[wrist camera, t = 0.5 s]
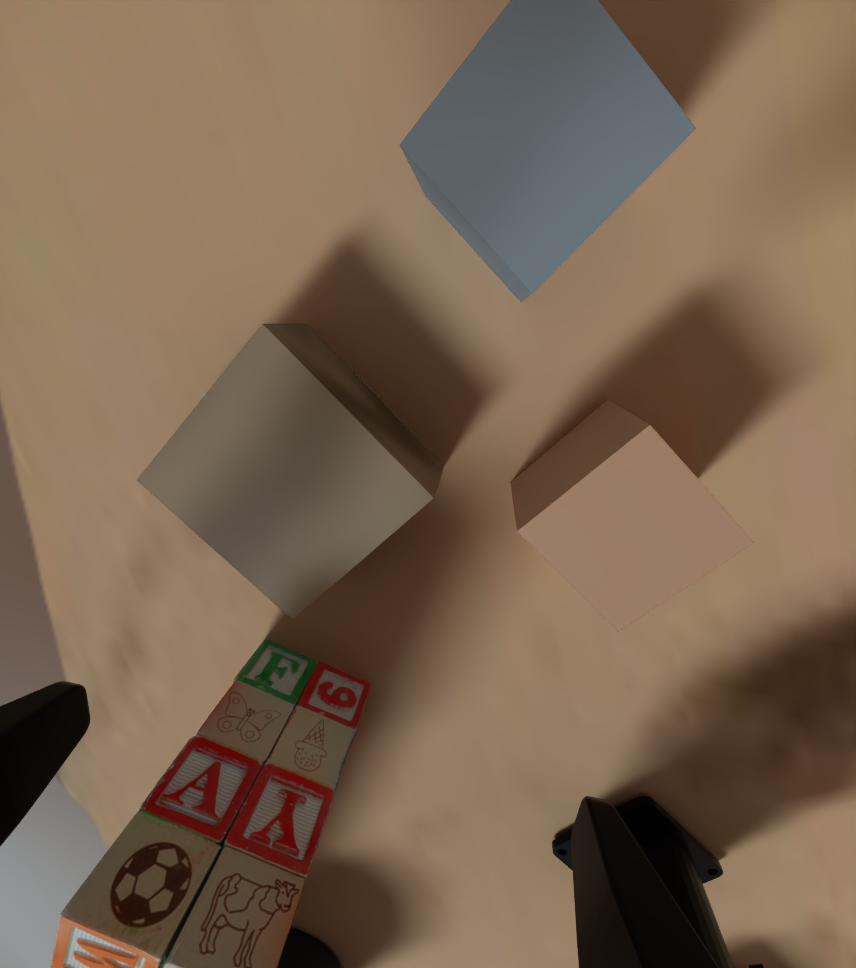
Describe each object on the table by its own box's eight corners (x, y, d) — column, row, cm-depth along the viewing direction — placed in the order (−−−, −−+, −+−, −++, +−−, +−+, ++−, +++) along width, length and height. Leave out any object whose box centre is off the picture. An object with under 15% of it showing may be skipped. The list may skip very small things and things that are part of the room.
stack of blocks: (270, 899, 31) (142, 1234, 20) (186, 864, 31) (9, 1180, 20) (374, 680, 24) (264, 1014, 12) (263, 633, 24) (49, 925, 12)
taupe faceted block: (444, 464, 20) (433, 498, 16) (325, 569, 22) (292, 619, 18) (309, 324, 18) (262, 324, 15) (199, 452, 21) (136, 480, 17)
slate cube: (633, 188, 15) (696, 127, 11) (520, 302, 17) (532, 293, 12) (534, 65, 15) (554, -57, 10) (425, 196, 16) (399, 145, 12)
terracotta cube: (687, 487, 18) (755, 542, 14) (587, 560, 20) (617, 632, 15) (607, 398, 18) (649, 424, 13) (510, 481, 19) (517, 531, 15)
